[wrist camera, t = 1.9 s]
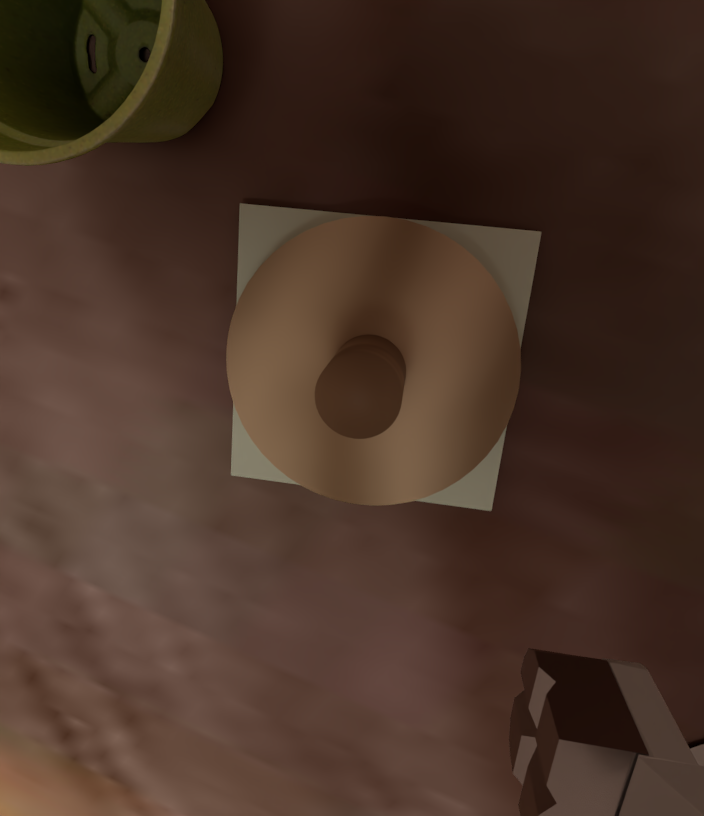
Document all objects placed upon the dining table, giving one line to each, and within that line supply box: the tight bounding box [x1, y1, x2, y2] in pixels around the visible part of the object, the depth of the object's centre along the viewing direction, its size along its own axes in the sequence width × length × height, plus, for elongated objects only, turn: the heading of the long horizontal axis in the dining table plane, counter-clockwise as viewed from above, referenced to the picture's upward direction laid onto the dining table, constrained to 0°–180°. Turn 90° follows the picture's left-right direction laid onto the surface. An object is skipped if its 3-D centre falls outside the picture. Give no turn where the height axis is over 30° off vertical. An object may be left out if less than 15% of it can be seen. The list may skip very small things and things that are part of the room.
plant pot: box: [0, 0, 223, 166], centre depth 19 cm, size 9×9×9 cm
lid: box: [226, 216, 521, 506], centre depth 22 cm, size 12×12×5 cm
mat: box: [231, 203, 542, 511], centre depth 25 cm, size 12×12×1 cm
